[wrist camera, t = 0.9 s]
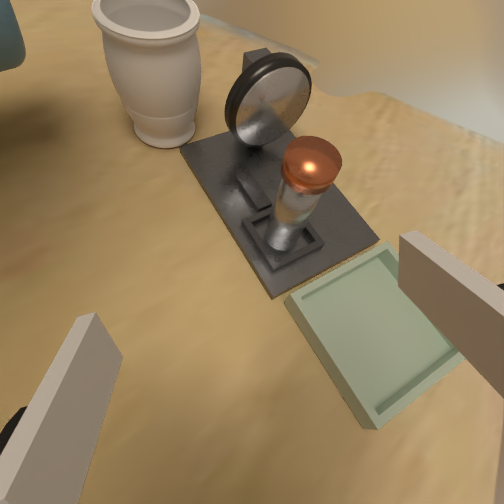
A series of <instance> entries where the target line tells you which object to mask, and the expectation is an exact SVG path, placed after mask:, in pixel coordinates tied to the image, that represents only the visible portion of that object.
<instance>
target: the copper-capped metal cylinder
mask: <svg viewBox="0 0 504 504" xmlns="http://www.w3.org/2000/svg"><path fill="white" fill-rule="evenodd" d="M341 166H342V158H341V155H340V153H339V151H338V150H337V149H336V148H335V147H334V146H333V145H332V144H331V143H329V142H328V141H326V140H324V139H322V138H319V137H315V136H301V137H298V138H295V139H293V140H292V141H291V142H290V143H289V144H288V145H287V147H286V150H285V154H284V157H283V161H282V164H281V176H282V180H281V183H280V186H279V189H278V193H277V196H276V199H275V202H274V206H273V209H272V212H271V215H270V219H269V222H268V225H267V228H266V232H265V237H266V240H267V242H268V244H269V245H270V246H272V247H273V248H275V249H277V250H282V251H285V250H289V249H292V248H293V247H294V246H295V245H296V243H297V242H298V240H299V238H300V236H301V234H302V232H303V230H304V228H305V226H306V224H307V222H308V220H309V218H310V216H311V214H312V212H313V211H314V209H315V207H316V205H317V203H318V201H319V199H320V197H321V195H322V193H324V192H326V191H327V190H328V189H329V188H330V187H331V186H332V184H333V182H334V180H335V178H336V176H337V175H338V173H339V171H340V169H341Z"/></svg>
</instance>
